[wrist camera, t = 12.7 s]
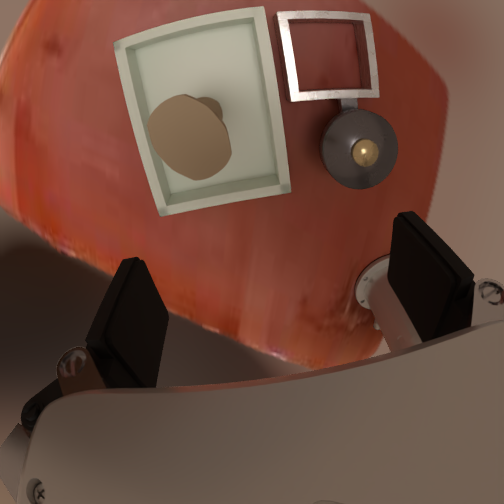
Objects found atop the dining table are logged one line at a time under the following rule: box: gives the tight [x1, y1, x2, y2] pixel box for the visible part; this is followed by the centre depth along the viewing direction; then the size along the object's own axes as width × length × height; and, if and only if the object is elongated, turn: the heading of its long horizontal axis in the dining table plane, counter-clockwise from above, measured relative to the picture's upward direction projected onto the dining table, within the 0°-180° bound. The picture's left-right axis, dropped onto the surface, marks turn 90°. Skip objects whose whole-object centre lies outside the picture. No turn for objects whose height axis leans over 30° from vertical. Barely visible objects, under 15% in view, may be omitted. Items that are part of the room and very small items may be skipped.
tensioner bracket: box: [273, 11, 398, 189], centre depth 27 cm, size 21×11×8 cm, turn 9°
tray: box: [113, 6, 291, 217], centre depth 29 cm, size 22×16×4 cm
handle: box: [147, 94, 232, 181], centre depth 24 cm, size 5×6×15 cm
